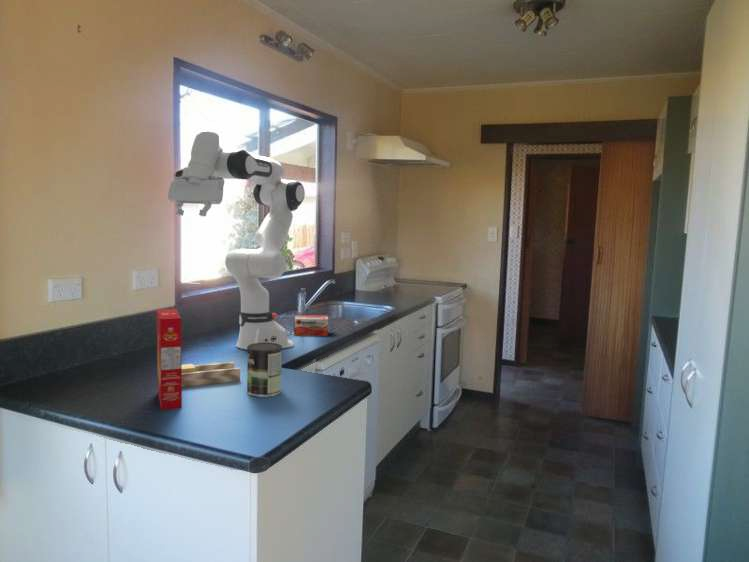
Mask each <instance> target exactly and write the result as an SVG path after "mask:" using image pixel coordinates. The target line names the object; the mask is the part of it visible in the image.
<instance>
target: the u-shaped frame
mask: <svg viewBox="0 0 749 562" xmlns="http://www.w3.org/2000/svg"><path fill="white" fill-rule="evenodd" d="M193 365H194V364H193ZM194 367H195V372H187V373H182V388H184V387H194V386H196V387H197V386H205V385H212V384H213V385H214V384H222V383H233V382H241V368H240V367H235V362H234V361H227V362H219V363H206V364H205V363H204V364H196V365H194Z"/></svg>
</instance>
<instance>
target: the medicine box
mask: <svg viewBox="0 0 749 562" xmlns="http://www.w3.org/2000/svg"><path fill="white" fill-rule="evenodd" d="M328 334H329V315H322V314H321V315H319V314H318V315H314V314H313V315H312V314H311V315H310V314H309V315H307V314H305V315H304V314H300V315H299V314H296V315H295V317H294V322H293V335H294V336H308V337H328Z"/></svg>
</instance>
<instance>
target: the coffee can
mask: <svg viewBox="0 0 749 562" xmlns="http://www.w3.org/2000/svg"><path fill="white" fill-rule="evenodd" d="M282 349H283V348H282V346H281V345H279V344H276V343H254V344H250V345H248V346H247V349H246V350H247V361H246V362H247V368H246V369H247V373H246V375H247V380H246V381H247V382H246V385H247V386H246V388H247V389H246V393H247V394H248V395H249V396H252V397H257V398H270V397H275V396H278V395H280V394H281V392H282V354H283V353H282Z"/></svg>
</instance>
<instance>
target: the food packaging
mask: <svg viewBox="0 0 749 562" xmlns="http://www.w3.org/2000/svg"><path fill="white" fill-rule="evenodd" d="M156 362H157V363H156V364H157V365H156V366H157V372H156V373H157V376H156V377H157V396H158V402H159V405H160V410H161V411H165V410H175V409H182V405H183V393H182V392H183V391H182V388H183V387H182V367H181V365H182V317H181V316H180V314H179V312H178V310H177V308H168V309H167V308H166V309H156Z"/></svg>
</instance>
